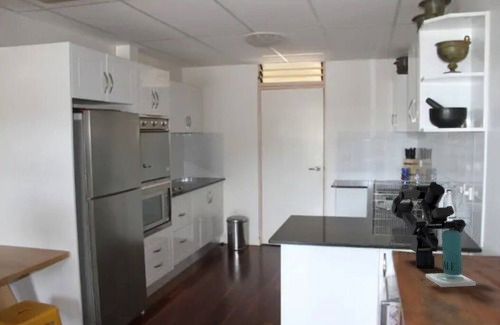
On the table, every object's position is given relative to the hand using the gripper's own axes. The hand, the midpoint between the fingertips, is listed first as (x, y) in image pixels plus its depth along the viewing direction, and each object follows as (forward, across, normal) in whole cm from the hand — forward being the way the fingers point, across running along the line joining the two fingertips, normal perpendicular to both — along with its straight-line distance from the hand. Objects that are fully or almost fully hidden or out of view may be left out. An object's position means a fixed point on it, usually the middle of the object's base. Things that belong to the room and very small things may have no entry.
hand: (446, 246), depth 153 cm
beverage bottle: (+9, +1, +6) cm, 11 cm away
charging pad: (+10, 0, +7) cm, 12 cm away
